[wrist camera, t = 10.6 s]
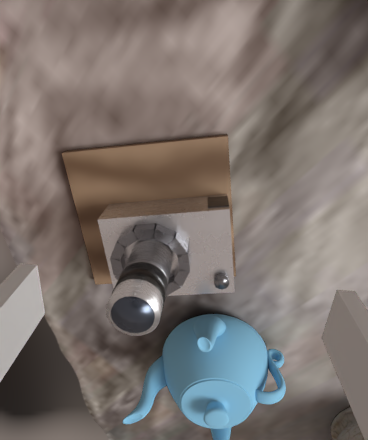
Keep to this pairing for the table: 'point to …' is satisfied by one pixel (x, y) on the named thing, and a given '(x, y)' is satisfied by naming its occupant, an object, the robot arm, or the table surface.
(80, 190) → the board
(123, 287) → the lens
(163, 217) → the camera body
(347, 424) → the vase
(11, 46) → the table surface
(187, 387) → the teapot
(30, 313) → the robot arm
